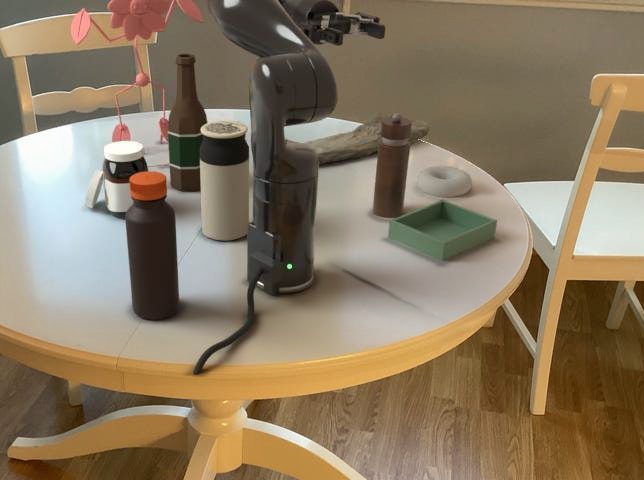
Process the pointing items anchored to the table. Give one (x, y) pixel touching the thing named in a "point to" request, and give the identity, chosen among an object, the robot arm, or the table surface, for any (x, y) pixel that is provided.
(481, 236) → the green shallow open box
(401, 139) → the pepper mill
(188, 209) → the table surface
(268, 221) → the robot arm
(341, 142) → the elongated rock
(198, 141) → the beer bottle
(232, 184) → the travel mug
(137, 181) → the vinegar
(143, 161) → the spread jar
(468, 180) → the donut
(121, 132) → the figurine
